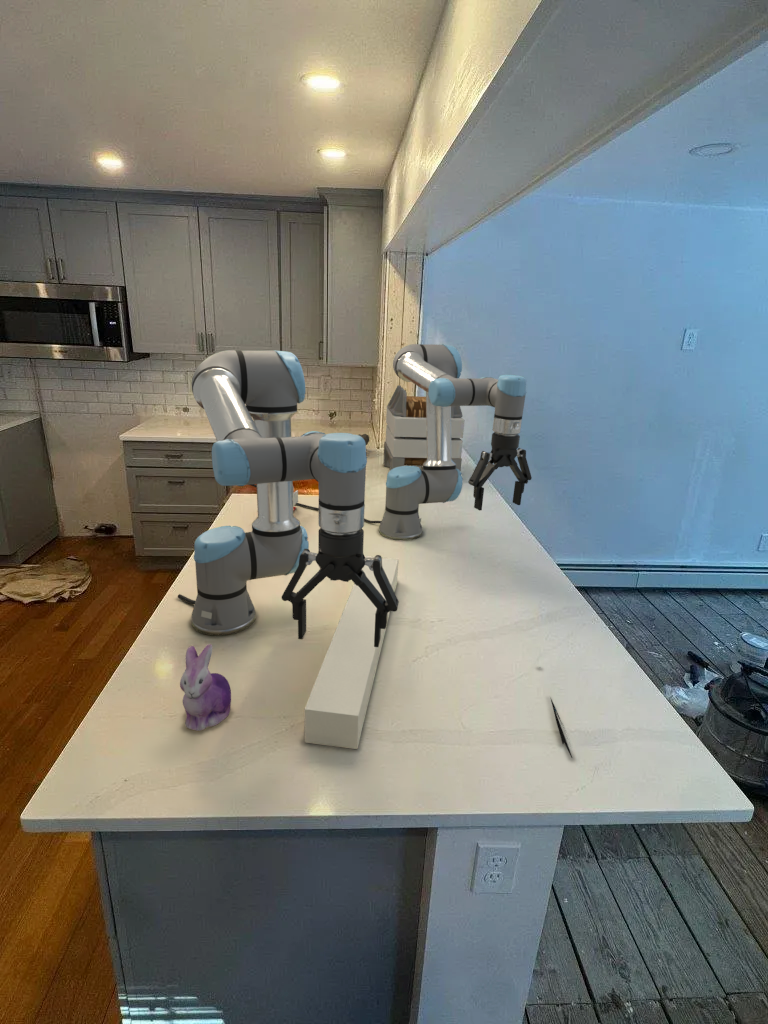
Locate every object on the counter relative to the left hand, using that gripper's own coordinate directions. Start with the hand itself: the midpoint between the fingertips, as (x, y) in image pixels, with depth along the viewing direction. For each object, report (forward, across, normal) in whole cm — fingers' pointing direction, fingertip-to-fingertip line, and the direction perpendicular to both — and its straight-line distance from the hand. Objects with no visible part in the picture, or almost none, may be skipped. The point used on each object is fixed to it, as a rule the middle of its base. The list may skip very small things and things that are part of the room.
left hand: (339, 639), depth 101 cm
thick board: (+19, 0, +28) cm, 34 cm away
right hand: (-4, +32, +71) cm, 78 cm away
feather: (+19, +42, +12) cm, 47 cm away
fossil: (+17, -33, +210) cm, 213 cm away
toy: (+18, -44, +104) cm, 114 cm away
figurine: (+19, -25, -2) cm, 31 cm away
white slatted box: (+18, +3, +180) cm, 181 cm away
